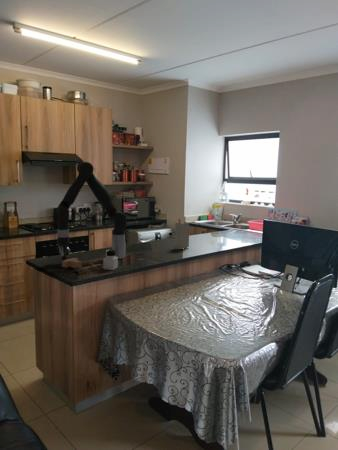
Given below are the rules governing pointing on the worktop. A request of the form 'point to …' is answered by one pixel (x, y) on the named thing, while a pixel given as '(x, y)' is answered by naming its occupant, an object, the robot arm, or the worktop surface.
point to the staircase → (181, 235)
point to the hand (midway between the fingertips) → (63, 261)
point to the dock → (88, 268)
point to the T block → (71, 263)
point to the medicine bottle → (110, 260)
